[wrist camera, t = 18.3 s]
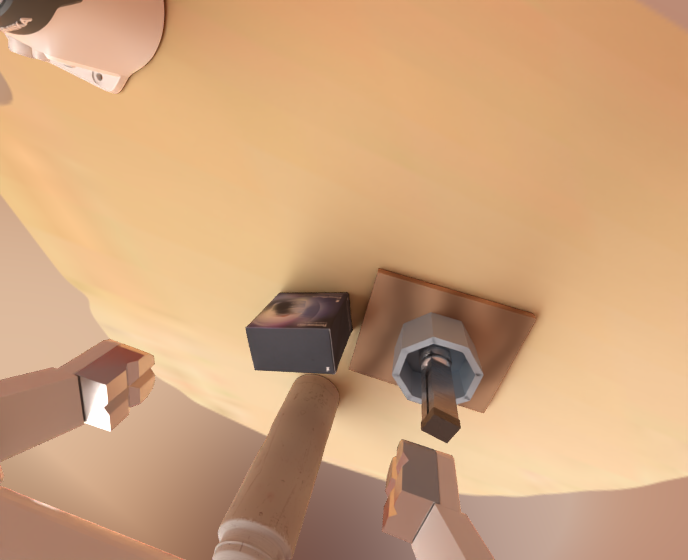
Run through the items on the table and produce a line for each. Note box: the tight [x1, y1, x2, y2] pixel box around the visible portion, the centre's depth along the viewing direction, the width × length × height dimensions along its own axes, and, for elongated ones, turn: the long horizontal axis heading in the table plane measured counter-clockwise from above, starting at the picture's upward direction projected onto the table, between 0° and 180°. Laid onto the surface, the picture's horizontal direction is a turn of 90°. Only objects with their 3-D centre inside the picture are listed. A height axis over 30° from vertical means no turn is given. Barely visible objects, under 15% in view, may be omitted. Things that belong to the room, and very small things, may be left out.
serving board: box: [349, 268, 536, 413], centre depth 45 cm, size 20×16×2 cm
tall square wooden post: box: [419, 344, 461, 443], centre depth 37 cm, size 4×4×13 cm
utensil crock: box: [392, 312, 484, 405], centre depth 41 cm, size 10×10×6 cm
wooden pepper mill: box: [212, 374, 339, 560], centre depth 40 cm, size 8×8×28 cm
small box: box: [246, 293, 353, 374], centre depth 43 cm, size 11×6×10 cm, turn 96°
